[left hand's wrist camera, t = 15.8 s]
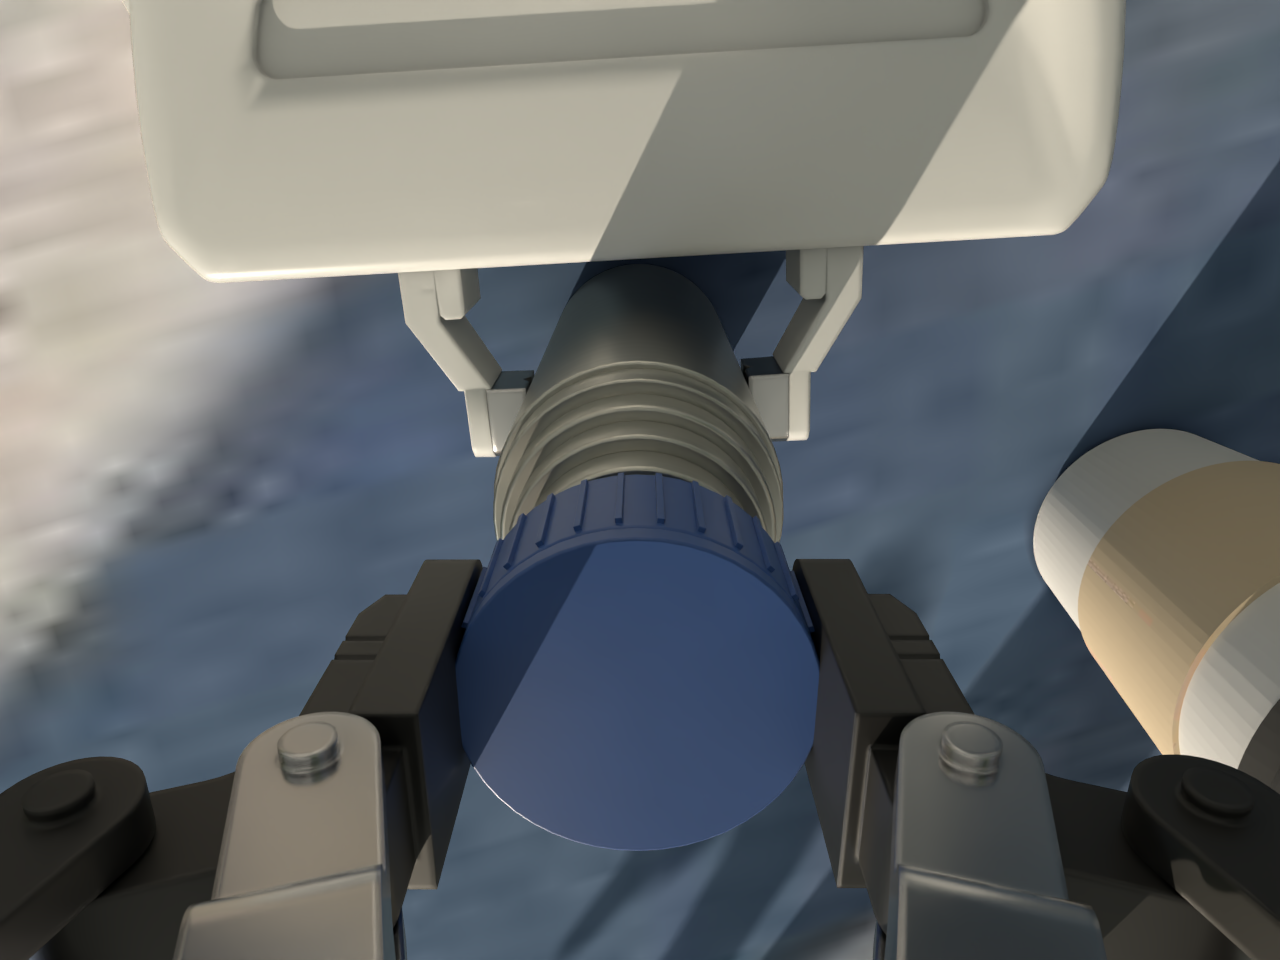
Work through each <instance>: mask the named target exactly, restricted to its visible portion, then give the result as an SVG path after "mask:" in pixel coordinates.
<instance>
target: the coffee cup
mask: <svg viewBox="0 0 1280 960" xmlns="http://www.w3.org/2000/svg"><path fill="white" fill-rule="evenodd" d="M1033 546H1034V555H1035V560H1036V563H1037V566H1038V569H1039V571H1040V573H1041V575H1042V577H1043V579H1044V580H1045V582H1046V583H1047V585H1048V586H1049V587H1050V589H1051V590H1052V592H1053V593H1054V594H1055V596H1056V597H1057V599H1058V600H1059V601H1060V603H1061V604H1062V606H1063V607H1064V608H1065V610H1066V611H1067V612H1068V614H1069V615H1070V617H1071V618H1072V619H1073V621H1074V622H1075V624H1076V625H1077V626H1078V628H1079V629H1080V631H1081V633H1082V636H1083V639H1084V641H1085V643H1086V646H1087V647H1088V649H1089V651H1090V653H1091V654H1092V656H1093V657H1094V658H1095V660H1096V661H1097V663H1098V664H1099V665H1100V667H1101V668H1102V670H1103V671H1104V673H1105V674H1106V675H1107V677H1108V678H1109V680H1110V681H1111V682H1112V684H1113V685H1114V687H1115V688H1116V690H1117V691H1118V692H1119V694H1120V695H1121V697H1122V698H1123V699H1124V701H1125V702H1126V704H1127V705H1128V706H1129V708H1130V709H1131V711H1132V712H1133V714H1134V715H1135V716H1136V718H1137V719H1138V721H1139V722H1140V723H1141V725H1142V726H1143V728H1144V729H1145V731H1146V732H1147V733H1148V735H1149V736H1150V738H1151V739H1152V740H1153V742H1154V743H1155V745H1156V746H1157V748H1158V749H1159V750H1160V752H1161V753H1162V755H1168V754H1179V755H1190V756H1195V757H1201V758H1205V759H1209V760H1213V761H1217V762H1220V763H1222V764H1225V765H1228V766H1231V767H1233V768H1236V769H1238V770H1240V771H1242V772H1245V773H1247V774H1248V775H1250V776H1252V777H1254V778H1256V779H1258V780H1259V781H1261V782H1263V783H1264V784H1266V785H1267V786H1269V787H1270V788H1272V789H1273V790H1275V791H1276V792H1277V793H1279V794H1280V464H1277V463H1272V462H1264V461H1259V460H1257V459H1254V458H1252V457H1249V456H1247V455H1244V454H1242V453H1239V452H1237V451H1234V450H1232V449H1229V448H1227V447H1224V446H1222V445H1219V444H1217V443H1214V442H1212V441H1209V440H1207V439H1204V438H1202V437H1200V436H1197V435H1195V434H1192V433H1188V432H1185V431H1180V430H1173V429H1148V430H1141V431H1136V432H1131V433H1128V434H1124V435H1121V436H1118V437H1116V438H1113V439H1111V440H1109V441H1106V442H1104V443H1102V444H1100V445H1098V446H1097V447H1095V448H1093V449H1092V450H1090V451H1088V452H1087V453H1086V454H1084V455H1083V456H1081V457H1080V458H1079V459H1078V460H1076V461H1075V462H1074V463H1073V464H1072V465H1071V466H1070V467H1069V468H1067V470H1066V471H1065V472H1064V473H1063V474H1062V475H1061V476H1060V477H1059V478H1058V480H1057V481H1056V482H1055V483H1054V485H1053V486H1052V488H1051V489H1050V491H1049V492H1048V494H1047V496H1046V497H1045V499H1044V501H1043V503H1042V506H1041V508H1040V510H1039V513H1038V516H1037V520H1036V523H1035V529H1034V538H1033Z"/></svg>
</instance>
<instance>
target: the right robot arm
mask: <svg viewBox="0 0 1280 960" xmlns="http://www.w3.org/2000/svg"><path fill="white" fill-rule="evenodd" d="M122 3H123V4H124V6H125V8H126V9H127V11H128V13H129V14H130V30H131V45H132V57H133V68H134V80H135V91H136V99H137V107H138V116H139V124H140V132H141V139H142V145H143V152H144V158H145V165H146V171H147V176H148V182H149V187H150V193H151V198H152V204H153V208H154V213H155V217H156V221H157V225H158V227H159V230H160V233H161V235H162V237H163V239H164V240H165V242H166V243H167V244H168V245H169V246H170V247H171V248H172V249H173V250H174V251H175V252H176V253H177V254H178V255H179V256H180V257H181V258H182V259H183V260H184V261H185V262H186V263H187V264H188V265H189V266H190V267H191V268H192V269H193V270H194V271H195V272H196V273H198V274H199V275H200V276H201V277H202V278H203V279H205V280H207V281H209V282H214V283H226V282H245V281H262V280H280V279H297V278H314V277H332V276H349V275H366V274H384V273H398V276H399V283H400V289H401V296H402V302H403V309H404V315H405V322H406V324H407V325H408V327H409V328H410V329H411V330H412V332H413V333H414V334H415V336H416V337H417V338H418V339H419V341H420V342H421V343H422V345H423V346H424V347H425V348H426V350H427V351H428V352H429V353H430V355H431V356H432V357H433V359H434V360H435V361H436V362H437V364H438V365H439V366H440V367H441V369H442V370H443V371H444V373H445V374H446V375H447V376H448V378H449V379H450V380H451V382H452V383H453V384H454V385H455V387H456V388H457V389H458V390H459V391H464V392H465V400H466V407H467V414H468V422H469V429H470V437H471V444H472V450H473V452H474V454H475V457H495V456H500V454H501V451H502V448H503V446H504V444H505V442H506V439H507V437H508V435H509V433H510V430H511V428H512V426H513V423H514V421H515V419H516V417H517V414H518V412H519V410H520V408H521V405H522V403H523V401H524V399H525V396H526V394H527V392H528V389H529V387H530V385H531V383H532V380H533V378H534V370H528V371H502V369H501V367H500V366H499V364H498V363H497V362H496V360H495V359H494V357H493V356H492V354H491V353H490V351H489V350H488V349H487V347H486V346H485V344H484V343H483V341H482V340H481V338H480V337H479V336H478V334H477V333H476V331H475V330H474V328H473V327H472V325H471V324H470V323H469V321H468V320H467V318H466V317H465V314H466V313H467V312H468V311H469V310H470V309H471V308H472V307H473V306H474V305H475V304H476V303H477V302H478V301H479V300H480V298H481V297H480V288H479V279H478V270H477V268H488V267H505V266H522V265H539V264H557V263H574V262H591V261H609V260H626V259H643V258H661V257H678V256H695V255H713V254H730V253H747V252H765V251H782V250H786V281H787V282H788V283H789V284H790V285H791V286H792V287H793V288H794V289H795V290H796V291H797V292H798V293H799V294H800V295H801V296H802V297H803V299H802V301H801V303H800V305H799V307H798V308H797V310H796V312H795V314H794V316H793V318H792V319H791V321H790V323H789V325H788V327H787V329H786V330H785V332H784V334H783V336H782V338H781V340H780V341H779V343H778V345H777V347H776V349H775V351H774V352H773V356H771V357H759V358H746V359H741V371H742V373H743V376H744V378H745V380H746V383H747V385H748V388H749V390H750V392H751V395H752V397H753V399H754V402H755V404H756V406H757V409H758V411H759V413H760V416H761V418H762V420H763V423H764V425H765V427H766V430H767V432H768V434H769V437H770V439H771V441H772V442H773V441H793V440H807V438H808V436H809V430H810V379H811V372H816V371H817V369H818V367H819V366H820V364H821V363H822V361H823V359H824V358H825V356H826V354H827V353H828V351H829V350H830V348H831V346H832V345H833V343H834V341H835V340H836V338H837V337H838V335H839V333H840V332H841V330H842V328H843V327H844V325H845V324H846V322H847V320H848V319H849V317H850V316H851V314H852V312H853V311H854V309H855V307H856V306H857V304H858V303H859V301H860V299H861V293H862V268H863V246H868V245H886V244H903V243H920V242H938V241H955V240H972V239H990V238H1007V237H1023V236H1040V235H1055V234H1058V233H1061V232H1063V231H1065V230H1066V229H1068V228H1069V227H1070V226H1071V224H1072V223H1073V222H1074V221H1075V220H1076V219H1077V218H1078V217H1079V216H1080V215H1081V213H1082V212H1083V211H1084V210H1085V208H1086V207H1087V206H1088V205H1089V203H1090V202H1091V201H1092V200H1093V198H1094V197H1095V196H1096V195H1097V193H1098V192H1099V191H1100V190H1101V188H1102V187H1103V185H1104V184H1105V182H1106V180H1107V177H1108V175H1109V171H1110V167H1111V163H1112V159H1113V153H1114V147H1115V140H1116V132H1117V124H1118V116H1119V106H1120V95H1121V85H1122V72H1123V57H1124V39H1125V14H1126V0H122Z"/></svg>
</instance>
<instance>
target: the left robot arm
mask: <svg viewBox="0 0 1280 960" xmlns="http://www.w3.org/2000/svg"><path fill="white" fill-rule="evenodd" d="M482 569H483V568H482V564H481V561H480V560H425V561H424V563H423V564H422V566H421V568H420V570H419V572H418V574H417V576H416V578H415V580H414V582H413V584H412V586H411V588H410V590H409V592H408V594H407V595H384V596H383V597H382V598H380V599H379V600H377V601H376V602H375V603H373V604H372V605H371V606H369V607H368V608H366V609H365V610H364V611H362V612H361V613H359V614H358V616H357V618H356V620H355V621H354V623H353V625H352V626H351V628H350V630H349V632H348V633H347V635H346V640H345V641H343V642H342V643H341V645H340V647H339V649H338V650H337V652H336V654H335V659H334V660H332V661H331V662H330V664H329V666H328V667H327V669H326V671H325V673H324V674H323V676H322V678H321V679H320V681H319V683H318V684H317V686H316V688H315V690H314V691H313V693H312V695H311V696H310V698H309V700H308V702H307V703H306V705H305V707H304V708H303V710H302V712H301V713H300V715H299V716H298V717H295V718H292V719H289V720H286V721H284V722H282V723H279V724H277V725H275V726H273V727H271V728H269V729H268V730H266V731H265V732H263V733H262V734H260V735H259V736H257V737H256V738H255V739H254V740H253V741H252V742H250V743H249V745H248V746H247V747H246V748H245V749H244V750H243V752H242V754H241V755H240V757H239V759H238V762H237V765H236V770H235V772H233V773H230V774H227V775H224V776H221V777H218V778H215V779H211V780H207V781H203V782H198V783H193V784H188V785H184V786H179V787H174V788H170V789H165V790H160V791H156V792H151V793H149V791H148V787H147V783H146V779H145V776H144V773H143V771H142V770H141V769H140V768H139V766H137V765H136V764H134V763H133V762H131V761H128V760H125V759H122V758H116V757H90V758H83V759H78V760H73V761H69V762H65V763H61V764H58V765H55V766H53V767H50V768H47V769H44V770H42V771H40V772H37V773H35V774H33V775H31V776H29V777H27V778H25V779H23V780H21V781H20V782H18V783H16V784H15V785H13V786H12V787H10V788H8V789H7V790H5V791H4V792H3V793H1V794H0V960H407V947H406V935H405V928H404V920H403V912H402V904H403V901H404V898H405V895H406V891H407V889H437V887H438V883H439V880H440V876H441V872H442V868H443V865H444V861H445V857H446V854H447V850H448V846H449V842H450V839H451V835H452V831H453V827H454V824H455V820H456V816H457V813H458V809H459V805H460V801H461V798H462V794H463V790H464V786H465V783H466V779H467V775H468V771H469V768H470V764H471V762H470V760H469V758H468V757H467V755H466V753H465V751H464V749H463V747H462V738H461V727H460V716H459V705H458V693H457V682H456V670H455V661H456V658H457V654H458V651H459V647H460V644H461V641H462V639H463V636H464V633H465V630H466V629H465V628H462V627H461V626H462V623H463V621H464V618H465V615H466V612H467V610H468V607H469V604H470V601H471V599H472V596H473V593H474V590H475V588H476V585H477V582H478V580H479V577H480V574H481V571H482ZM793 570H794V573H795V575H796V578H797V581H798V584H799V587H800V590H801V592H802V595H803V598H804V601H805V604H806V607H807V609H808V612H809V615H810V618H811V621H812V624H813V627H814V629H815V631H814V632H811V633H810V634H811V637H812V640H813V643H814V646H815V649H816V652H817V655H818V658H819V662H820V671H819V684H818V695H817V707H816V718H815V730H814V741H813V746H812V748H811V750H810V752H809V754H808V757H807V759H806V761H805V766H806V770H807V774H808V778H809V782H810V785H811V789H812V793H813V797H814V801H815V805H816V808H817V812H818V816H819V820H820V824H821V828H822V831H823V835H824V839H825V843H826V847H827V851H828V854H829V858H830V862H831V866H832V870H833V874H834V877H835V881H836V885H837V888H867V891H868V894H869V897H870V901H871V904H872V907H873V911H874V914H875V917H876V919H877V920H876V928H875V935H874V948H873V960H1280V794H1279V793H1277V792H1276V791H1275V790H1273V789H1272V788H1270V787H1269V786H1267V785H1266V784H1264V783H1263V782H1261V781H1259V780H1258V779H1256V778H1254V777H1252V776H1250V775H1248V774H1247V773H1245V772H1242V771H1240V770H1238V769H1236V768H1233V767H1231V766H1228V765H1225V764H1222V763H1220V762H1217V761H1213V760H1209V759H1205V758H1201V757H1195V756H1190V755H1179V754H1168V755H1159V756H1154V757H1151V758H1148V759H1145V760H1144V761H1142V762H1140V763H1139V764H1138V765H1137V766H1136V767H1135V768H1134V771H1133V773H1132V776H1131V780H1130V784H1129V788H1128V792H1123V791H1118V790H1114V789H1109V788H1104V787H1100V786H1095V785H1090V784H1086V783H1081V782H1076V781H1071V780H1067V779H1063V778H1059V777H1055V776H1052V775H1049V774H1046V773H1045V770H1044V765H1043V762H1042V759H1041V757H1040V755H1039V754H1038V752H1037V750H1036V749H1035V748H1034V747H1033V746H1032V745H1031V743H1030V742H1028V741H1027V740H1026V739H1025V738H1024V737H1023V736H1021V735H1020V734H1018V733H1017V732H1015V731H1014V730H1012V729H1011V728H1009V727H1007V726H1005V725H1003V724H1001V723H998V722H996V721H994V720H991V719H988V718H985V717H982V716H978V715H975V714H974V713H973V711H972V709H971V707H970V706H969V704H968V702H967V701H966V699H965V697H964V695H963V694H962V692H961V690H960V688H959V687H958V685H957V683H956V681H955V680H954V678H953V676H952V675H951V673H950V671H949V669H948V668H947V666H946V664H945V662H944V661H943V659H940V654H939V652H938V650H937V648H936V647H935V645H934V643H933V642H932V640H929V635H928V633H927V631H926V629H925V628H924V626H923V624H922V622H921V621H920V619H919V617H918V615H917V614H916V613H915V612H914V611H912V610H911V609H910V608H908V607H907V606H906V605H904V604H903V603H901V602H900V601H899V600H897V599H896V598H895V597H893V596H892V595H890V594H867V592H866V589H865V587H864V585H863V583H862V581H861V579H860V577H859V575H858V573H857V571H856V569H855V567H854V565H853V563H852V562H851V560H850V559H796V560H795V562H794V565H793ZM793 570H792V571H793Z"/></svg>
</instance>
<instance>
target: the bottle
mask: <svg viewBox="0 0 1280 960" xmlns="http://www.w3.org/2000/svg"><path fill="white" fill-rule="evenodd" d="M618 473H624V475H635V474H638V475H655V474H656V473H661V474H662V476H663V477H669V478H675V479H680V480H683V481H687V482H690V483H692V481H696V482H698V483H699V485H700V486H702V487H704V488H707V489H709V490H711V491H713V492H716V493H718V494H720V495H722V496H723V497H725V496H726V495H728V496H729V497H731V498H732V501H733V503H735V504H736V505H738V506H739V507H740V508H742V509H743V510H744V511H745V512H746V513H748V514H749V515H750V516H751V517H754V516H757V517H758V518H759V519H760V522H761V526H762V528H763V529H764V530H765V531H766V532H767V533H768V534H769V536H770V537H771V539H772V540H773V542H774V543H776V542H779V541H780V538H781V533H782V525H783V482H782V475H781V469H780V464H779V461H778V458H777V455H776V451H775V448H774V446H773V444H772V441H771V439H770V437H769V434H768V432H767V430H766V427H765V425H764V423H763V420H762V418H761V416H760V413H759V411H758V409H757V406H756V404H755V402H754V399H753V397H752V395H751V392H750V390H749V388H748V385H747V383H746V380H745V378H744V376H743V373H742V371H741V369H740V366H739V364H738V362H737V359H736V357H735V355H734V352H733V350H732V348H731V345H730V343H729V341H728V338H727V336H726V334H725V331H724V329H723V327H722V324H721V322H720V320H719V317H718V315H717V313H716V311H715V309H714V307H713V305H712V304H711V302H710V301H709V299H708V298H707V296H706V295H705V294H704V293H703V292H702V291H701V290H700V289H699V288H698V287H697V286H696V285H695V284H694V283H693V282H692V281H690V280H689V279H687V278H686V277H684V276H683V275H681V274H679V273H677V272H675V271H673V270H670V269H667V268H664V267H661V266H656V265H650V264H629V265H623V266H618V267H614V268H612V269H609V270H606V271H604V272H602V273H600V274H598V275H596V276H594V277H593V278H592V279H590V280H589V281H587V282H586V283H585V284H584V285H583V286H581V287H580V288H579V289H578V290H577V291H576V292H575V294H574V295H573V296H572V297H571V299H570V300H569V302H568V303H567V305H566V306H565V308H564V310H563V312H562V315H561V317H560V319H559V321H558V324H557V326H556V328H555V330H554V333H553V335H552V337H551V339H550V342H549V344H548V346H547V349H546V351H545V353H544V355H543V358H542V360H541V362H540V364H539V367H538V369H537V371H536V374H535V376H534V378H533V380H532V383H531V385H530V387H529V389H528V392H527V394H526V396H525V399H524V401H523V403H522V405H521V408H520V410H519V412H518V414H517V417H516V419H515V421H514V423H513V426H512V428H511V430H510V433H509V435H508V437H507V439H506V442H505V444H504V446H503V448H502V451H501V454H500V458H499V461H498V465H497V468H496V475H495V482H494V526H495V533H496V539H497V541H498V539H499V538H501V539H502V540H503V539H504V538H505V536H506V535H507V534H508V533H509V532H510V531H511V529H512V528H513V527H514V526H515V525H516V524H517V521H518V518H519V516H520V515H521V514H522V513H524V514H525V515H527V514H528V513H529V512H530V511H531V510H532V509H534V508H535V507H536V506H538V505H539V504H541V503H543V502H544V501H546V499H547V496H548V495H549V494H551V493H553V494H554V495H556V494H558V493H560V492H562V491H564V490H566V489H568V488H571V487H573V486H576V485H579V484H581V481H582V480H585V479H587V480H588V481H591V480H596V479H601V478H606V477H611V476H618Z"/></svg>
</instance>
